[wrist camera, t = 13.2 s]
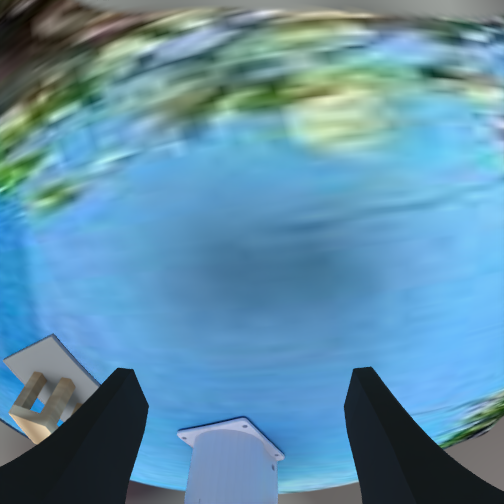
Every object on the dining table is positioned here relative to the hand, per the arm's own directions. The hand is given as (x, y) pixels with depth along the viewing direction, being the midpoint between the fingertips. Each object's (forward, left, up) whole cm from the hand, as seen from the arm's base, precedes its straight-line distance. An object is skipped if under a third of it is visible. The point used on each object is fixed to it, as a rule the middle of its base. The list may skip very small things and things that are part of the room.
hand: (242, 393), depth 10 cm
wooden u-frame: (-5, +25, -10) cm, 27 cm away
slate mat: (-5, +25, -10) cm, 28 cm away
